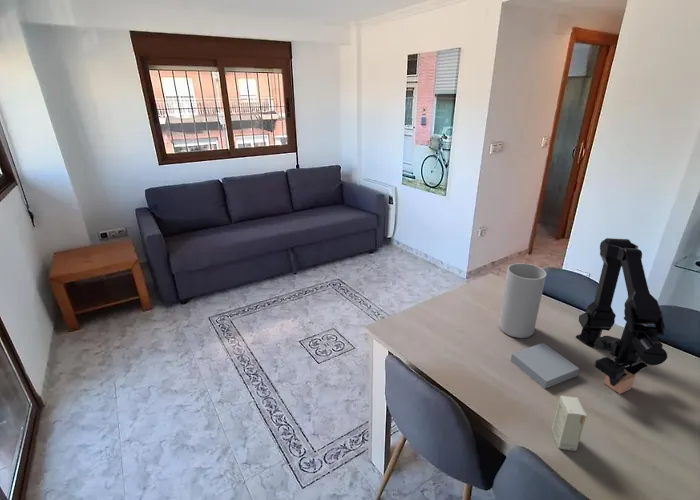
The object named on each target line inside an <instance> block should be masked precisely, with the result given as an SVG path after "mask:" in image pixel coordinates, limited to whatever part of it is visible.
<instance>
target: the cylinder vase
mask: <svg viewBox="0 0 700 500" xmlns="http://www.w3.org/2000/svg"><path fill="white" fill-rule="evenodd" d="M546 277H547V272H546V271H545V270H544V269H543V268H541V267H539V266H538V265H537V266H536V265H535V264H530V263H522V262H519V263H517V262H516V263H512V264H509V266H508V267H507V272H506V277H505V283H504V289H503V295H502V300H501V308H500V313H499V320H498V328H499V329H500V331H502V333H505V334H506V335H508V336H510V337H512V338H517V339H525V338H530V337H531V336H532V335H534V332H535V329H536V324H537V319H538V315H539V310H540V304H541V302H542V301H541V300H542V295H543V291H544V287H545V283H546Z"/></svg>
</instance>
